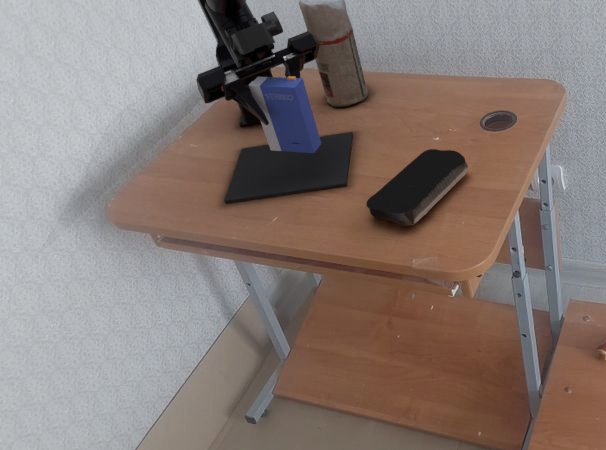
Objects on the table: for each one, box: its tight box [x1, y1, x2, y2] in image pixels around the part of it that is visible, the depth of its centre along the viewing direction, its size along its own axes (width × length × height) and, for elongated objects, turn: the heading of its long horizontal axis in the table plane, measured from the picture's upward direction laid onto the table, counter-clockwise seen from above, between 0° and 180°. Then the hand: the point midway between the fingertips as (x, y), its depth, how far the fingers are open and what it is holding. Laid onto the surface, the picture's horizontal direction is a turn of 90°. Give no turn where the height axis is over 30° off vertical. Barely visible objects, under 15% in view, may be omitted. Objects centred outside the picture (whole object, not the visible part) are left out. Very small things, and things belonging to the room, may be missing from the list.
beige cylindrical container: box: [298, 0, 369, 108], centre depth 127 cm, size 8×8×20 cm
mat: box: [223, 131, 354, 205], centre depth 118 cm, size 15×20×1 cm
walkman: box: [249, 76, 321, 153], centre depth 107 cm, size 8×3×12 cm, turn 73°
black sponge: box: [366, 148, 468, 226], centre depth 105 cm, size 16×8×4 cm, turn 144°
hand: (285, 116), depth 106 cm, fingers closed on walkman, 6 cm apart
